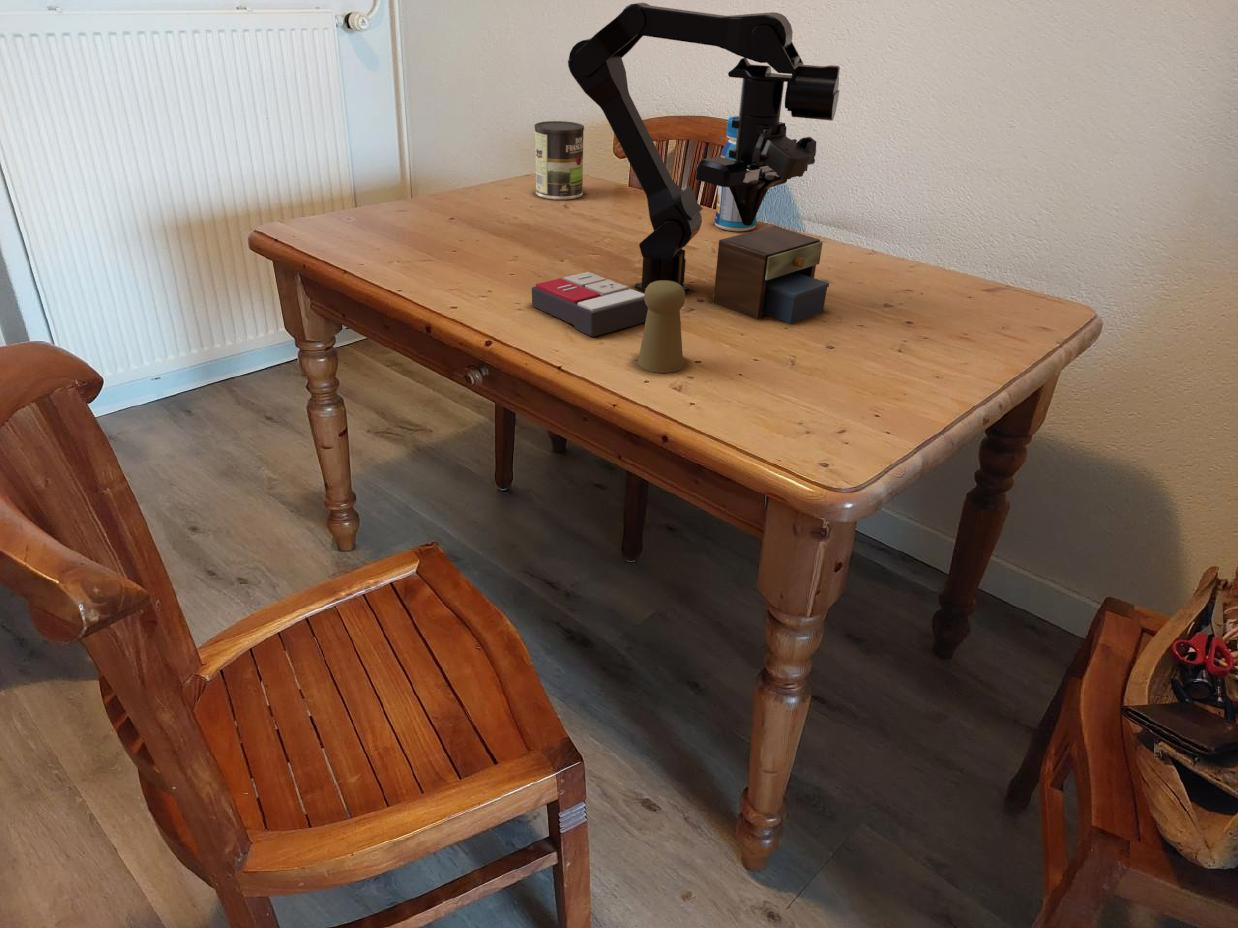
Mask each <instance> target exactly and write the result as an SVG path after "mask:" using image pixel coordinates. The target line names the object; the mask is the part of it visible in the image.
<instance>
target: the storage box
mask: <svg viewBox="0 0 1238 928" xmlns="http://www.w3.org/2000/svg"><path fill="white" fill-rule="evenodd" d="M829 287H830V282H827V281H824V280H821V279H818V278H815V277H814V278H812V277H809V276H806V275H803V274H800V273H797V272H792V273H789V274H786V275H782V276H779V277H776V278H773V279H770V280H766V288H765V296H764V303H763V311H762V314H764V315H766V316H769V317H772V318H774V319H777V320H780V321H783V322H785V323H787V324H790V325H791V324H793V323H797V322H799V321H802V320H805V319H808V318H810V317H813V316H816V315H818V314H821V313H823V312H824V309H825V304H826V303H825V302H826V296H827V292H828V288H829Z"/></svg>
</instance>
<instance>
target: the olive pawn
mask: <svg viewBox="0 0 1238 928" xmlns="http://www.w3.org/2000/svg"><path fill="white" fill-rule="evenodd" d="M644 294H645V296H644V300H645V304H646V305H647V307H648V312H647V317H646V322H644V329H643V332H642V333H643V334H642V339H641V342H640V343H641V344H640V348H639V354H638V359H637V365H638V367H640V368H641V369H643V370H645V371H648V372H651V373H656V374H657V373H658V374H669V373H670V374H671V373H674V372H678V371H680V370H681V369H682V368H683V367H684V357H683V356H684V355H683V339H682V324H681V323H682V321H681V309H682V308H683V307H684V305H685V302H686V291H684V289H683V287H682V286H681V285H680V284H678V283H676V282H673V281H665V280H662V281H655V282H652V283H650V284H649V285H648V286H647V288H646V290H645V291H644Z"/></svg>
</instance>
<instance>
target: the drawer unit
mask: <svg viewBox="0 0 1238 928" xmlns="http://www.w3.org/2000/svg"><path fill="white" fill-rule="evenodd" d="M818 242H821V239H820V238H816V237H813V236H809V235H806V234H803V233H801V232H796V231H792V230H788V229H786V228H783V227H779V226H776V225H772V226H768V227H764V228H760V229H757V230H751V231H749V232H748V231H747V232H745V233H741V234H737V235H733V236H731V237H730V236H729V237H726V238H722V239H718V247H717V248H718V249H717V257H716V258H717V259H716V269H715V279H714V287H713V288H714V289H713V300H712V302H713V303H714V304H717V305H718V306H719V305H720V306H722V307H724V308H727V309H729V310H732V311H735V312H737V313H740V314H743V315H745V316H748V317H750V318H753V319H755V320H760V319H763V313H762V311H763V303H764V296H765V288H766V280H765V276H766V268H767V260H768V257H770V256H773V255H777V254H780V253H784V252H787V251H790V250H794V249H797V248H801V247H804V246H808V245H811V244H814V243H818ZM816 268H817V265H814V266H811V267H808V268H805V269H801V270H798V271H795V272H797V273H800V274H803V275H806V276H809V277H812V278H815V275H816Z"/></svg>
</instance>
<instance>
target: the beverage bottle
mask: <svg viewBox="0 0 1238 928" xmlns="http://www.w3.org/2000/svg"><path fill="white" fill-rule="evenodd" d="M735 119H739V115H737V116H729V117H728V119H727V123H726V138H728V141H727V142H726V143H725V145H723V148H722V150H721V152H720V155H719V157H722V158H726V159H730V160H734V161H736V159H733V158H729V150H733V149H736V140H737V130H738V129H737V128H732V120H735ZM747 167H748V166H747ZM716 197H717V198H716V208H715V215H714V225H715V226H716V227H717V228H719V229H721V230H725V231H730V232H748V231H749V232H750V231H753V230H754V229H755V228H756V226H757V215H758V213H757V214H756V216H755V219H754V221H753V223H752V225H749V226H746V225H743V223H742V220H741V217H740V214H739V211H738V209H737V206H736V203H735V200H734V197H733V195H732V193H731V191H730V188H729V187H721V186H717V196H716Z"/></svg>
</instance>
